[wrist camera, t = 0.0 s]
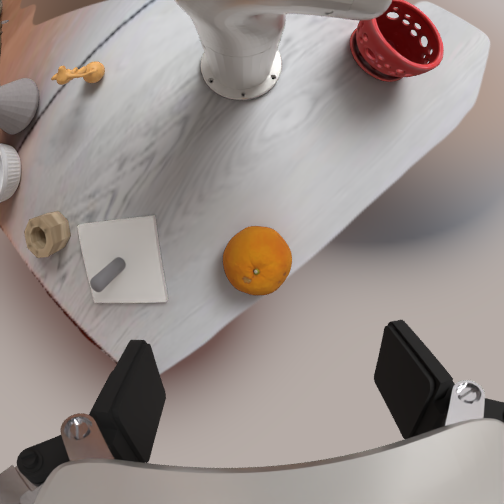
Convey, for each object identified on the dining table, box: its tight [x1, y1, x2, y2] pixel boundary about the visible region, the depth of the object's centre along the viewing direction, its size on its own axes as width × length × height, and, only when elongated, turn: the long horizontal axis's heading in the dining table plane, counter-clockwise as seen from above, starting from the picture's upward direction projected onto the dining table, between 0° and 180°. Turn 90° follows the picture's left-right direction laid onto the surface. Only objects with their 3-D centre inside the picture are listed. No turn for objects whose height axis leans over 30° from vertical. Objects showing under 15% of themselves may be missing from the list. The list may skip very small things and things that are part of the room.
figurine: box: [51, 62, 105, 85], centre depth 32 cm, size 8×6×12 cm
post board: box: [77, 215, 168, 303], centre depth 42 cm, size 15×15×10 cm
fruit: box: [223, 226, 292, 295], centre depth 44 cm, size 10×10×8 cm
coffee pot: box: [0, 20, 39, 134], centre depth 29 cm, size 21×12×15 cm, turn 171°
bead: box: [24, 211, 71, 258], centre depth 42 cm, size 7×7×6 cm
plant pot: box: [350, 0, 443, 82], centre depth 32 cm, size 13×13×12 cm
